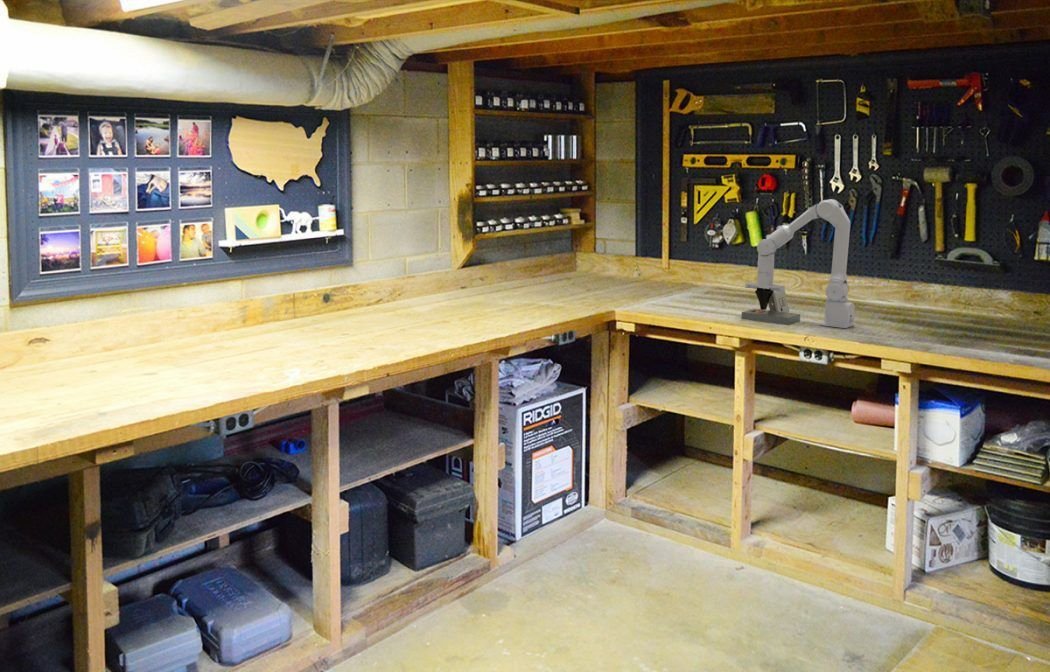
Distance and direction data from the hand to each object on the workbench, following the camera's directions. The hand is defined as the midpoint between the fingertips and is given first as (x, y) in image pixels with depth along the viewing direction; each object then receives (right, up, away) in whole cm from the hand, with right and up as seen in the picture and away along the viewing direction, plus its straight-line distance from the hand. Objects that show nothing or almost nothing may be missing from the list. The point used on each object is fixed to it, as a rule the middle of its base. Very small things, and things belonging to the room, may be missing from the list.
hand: (763, 309), depth 346 cm
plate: (+2, -4, -1) cm, 5 cm away
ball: (-1, -2, +1) cm, 3 cm away
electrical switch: (+8, -2, +12) cm, 15 cm away
